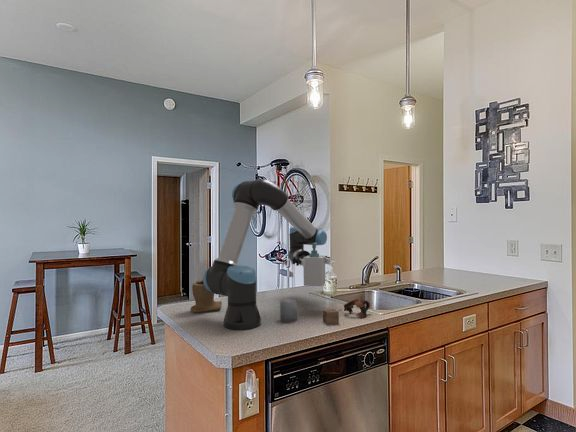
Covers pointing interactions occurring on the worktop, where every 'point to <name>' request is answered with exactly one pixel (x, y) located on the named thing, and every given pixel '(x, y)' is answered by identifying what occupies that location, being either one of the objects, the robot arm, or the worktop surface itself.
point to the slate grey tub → (288, 310)
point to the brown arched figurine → (360, 305)
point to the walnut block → (330, 316)
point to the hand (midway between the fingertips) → (317, 262)
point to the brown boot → (203, 298)
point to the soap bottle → (314, 268)
